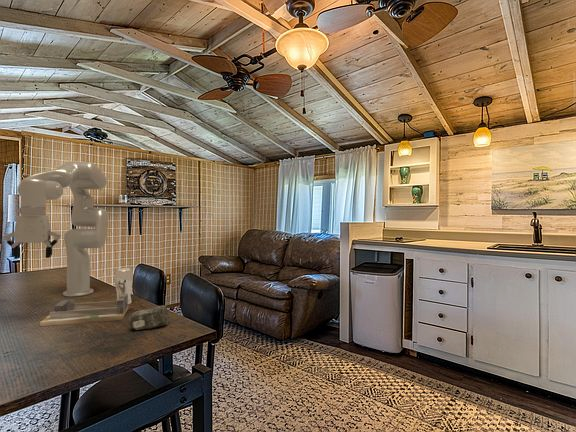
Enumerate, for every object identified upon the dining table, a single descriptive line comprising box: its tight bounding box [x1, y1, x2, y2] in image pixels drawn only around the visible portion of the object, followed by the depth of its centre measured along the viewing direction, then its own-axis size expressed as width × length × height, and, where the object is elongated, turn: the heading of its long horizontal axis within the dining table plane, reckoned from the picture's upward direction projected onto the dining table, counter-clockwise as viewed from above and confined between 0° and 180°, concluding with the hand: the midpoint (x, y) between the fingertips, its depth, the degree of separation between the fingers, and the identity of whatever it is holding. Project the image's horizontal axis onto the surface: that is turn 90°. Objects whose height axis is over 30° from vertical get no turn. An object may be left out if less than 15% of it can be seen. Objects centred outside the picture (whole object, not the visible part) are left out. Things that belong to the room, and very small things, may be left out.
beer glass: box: [114, 267, 134, 305], centre depth 144 cm, size 7×7×15 cm
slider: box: [53, 299, 75, 312], centre depth 123 cm, size 12×4×5 cm, turn 17°
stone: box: [128, 304, 171, 331], centre depth 116 cm, size 14×7×10 cm, turn 132°
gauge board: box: [39, 294, 130, 327], centre depth 127 cm, size 16×26×6 cm, turn 107°
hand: (32, 258), depth 122 cm, fingers open, 9 cm apart
